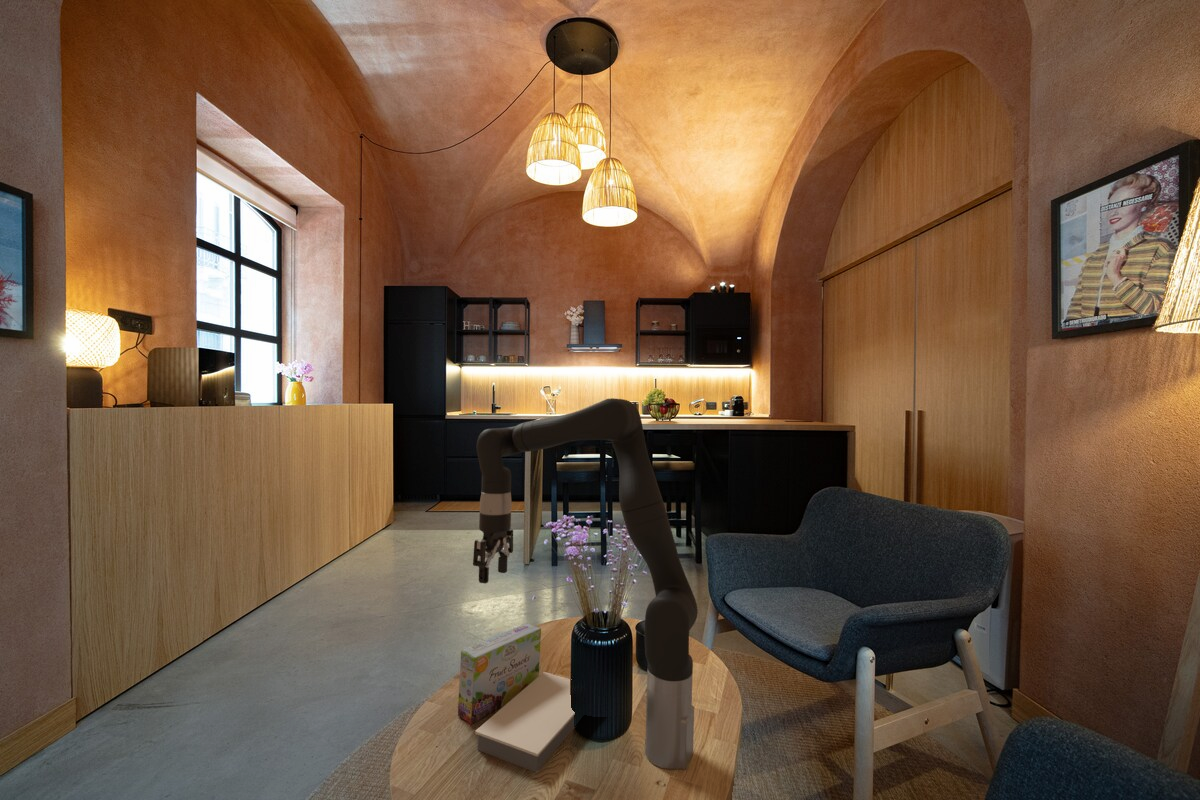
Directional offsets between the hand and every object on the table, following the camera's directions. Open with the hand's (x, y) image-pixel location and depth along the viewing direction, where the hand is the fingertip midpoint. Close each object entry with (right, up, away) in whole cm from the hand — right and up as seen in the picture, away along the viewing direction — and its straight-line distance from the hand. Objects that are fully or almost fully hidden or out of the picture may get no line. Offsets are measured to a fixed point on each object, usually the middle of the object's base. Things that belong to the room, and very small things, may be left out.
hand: (493, 577), depth 126 cm
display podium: (+13, -29, -11) cm, 34 cm away
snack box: (+2, -29, -2) cm, 29 cm away
